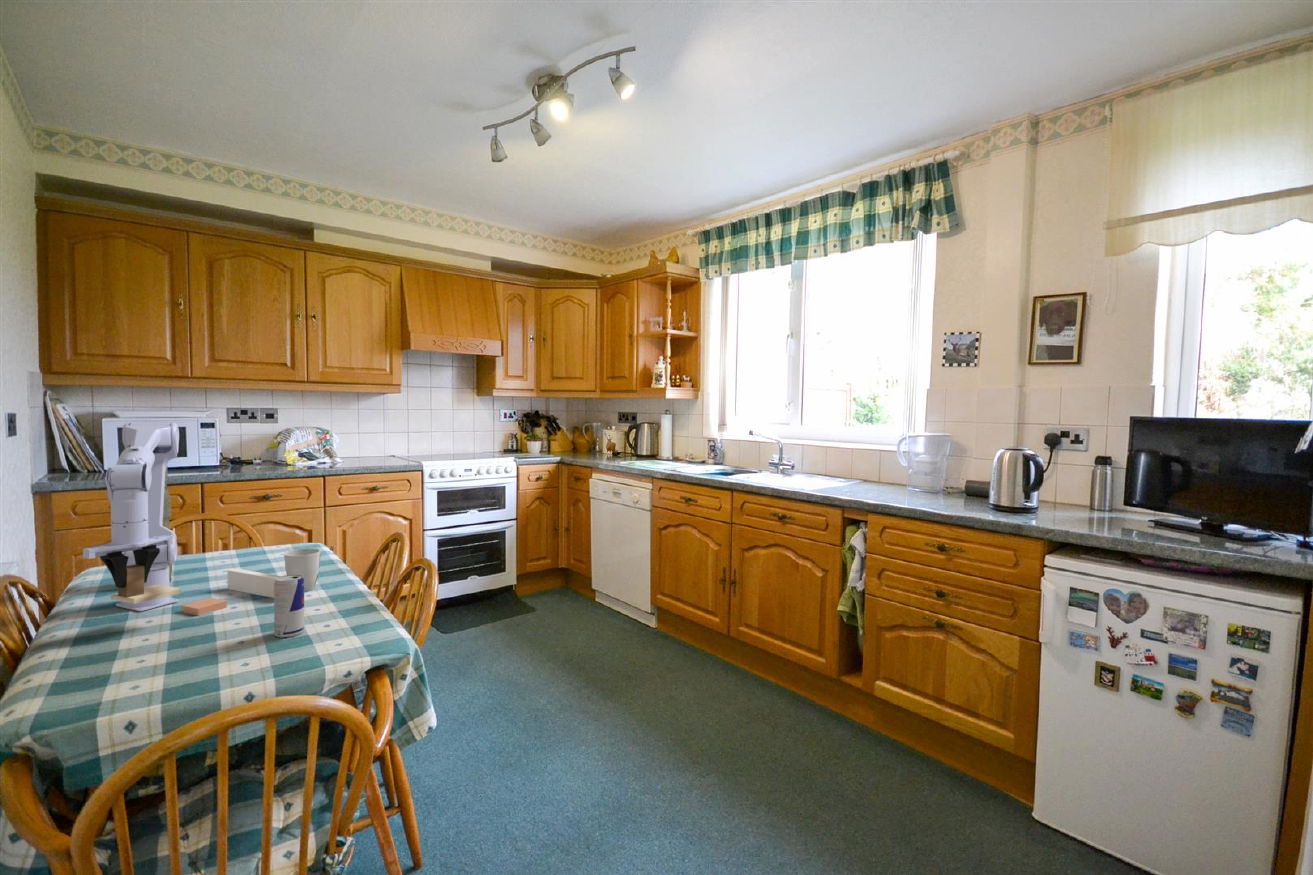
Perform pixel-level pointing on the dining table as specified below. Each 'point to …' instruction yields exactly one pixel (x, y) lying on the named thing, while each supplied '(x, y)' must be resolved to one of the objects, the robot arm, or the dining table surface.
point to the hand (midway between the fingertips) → (131, 584)
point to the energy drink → (288, 605)
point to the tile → (204, 606)
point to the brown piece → (141, 588)
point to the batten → (251, 582)
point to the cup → (304, 565)
